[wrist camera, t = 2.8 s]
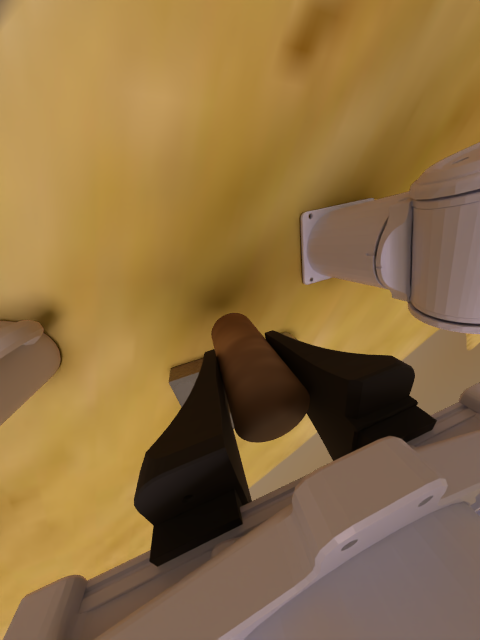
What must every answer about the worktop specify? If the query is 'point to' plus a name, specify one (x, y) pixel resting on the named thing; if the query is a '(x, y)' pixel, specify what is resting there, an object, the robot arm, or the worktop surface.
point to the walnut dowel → (256, 381)
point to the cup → (24, 363)
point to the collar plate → (186, 380)
